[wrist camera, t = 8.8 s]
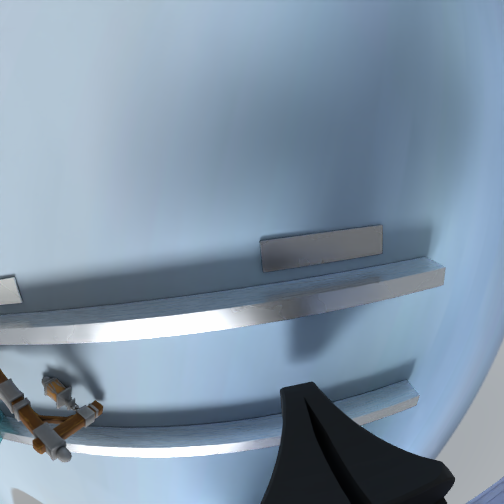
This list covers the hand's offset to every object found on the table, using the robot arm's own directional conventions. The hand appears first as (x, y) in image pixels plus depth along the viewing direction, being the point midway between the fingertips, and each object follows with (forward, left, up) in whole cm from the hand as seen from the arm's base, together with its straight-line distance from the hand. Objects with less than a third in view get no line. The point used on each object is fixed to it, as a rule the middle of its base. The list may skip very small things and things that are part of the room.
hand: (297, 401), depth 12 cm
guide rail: (+1, +6, -2) cm, 7 cm away
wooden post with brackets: (+1, +13, -2) cm, 13 cm away
